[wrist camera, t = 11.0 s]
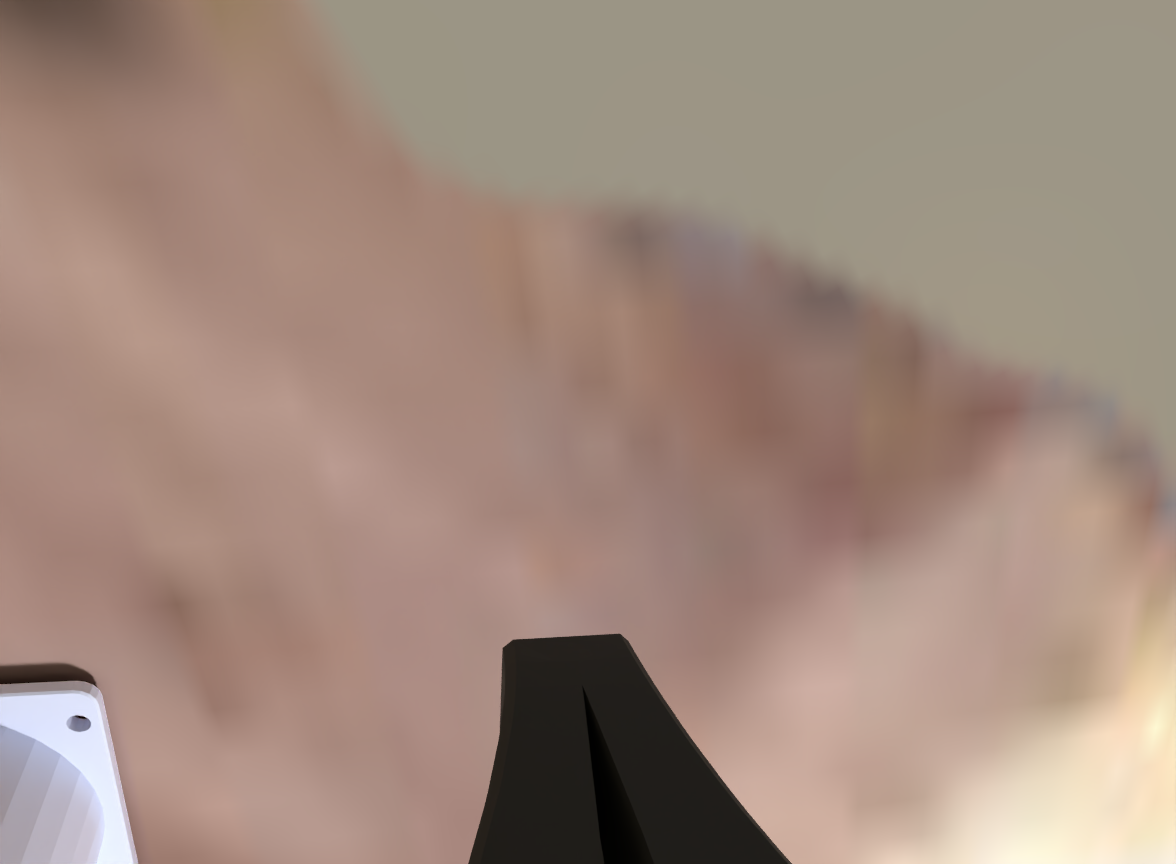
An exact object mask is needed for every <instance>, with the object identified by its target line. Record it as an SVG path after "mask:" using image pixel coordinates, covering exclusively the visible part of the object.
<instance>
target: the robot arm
mask: <svg viewBox="0 0 1176 864" xmlns="http://www.w3.org/2000/svg"><path fill="white" fill-rule="evenodd" d="M75 715H79V716H84V717H86V718H88V719H80V718H77V717H75ZM0 864H138V860H137V855H136V851H135V846H134V841H133V837H132V832H131V827H130V823H129V818H128V813H127V809H126V804H125V799H124V795H123V790H122V785H121V781H120V776H119V771H118V766H117V762H116V757H115V752H114V748H113V743H112V738H111V734H110V729H109V724H108V720H107V715H106V710H105V706H104V701H103V696H102V694H101V692H100V690H99V689H98V688H97V687H95V686H94V685H93V684H90V683H87V682H85V681H60V682H39V683H19V684H0ZM468 864H792V863H791V862H790V861H789V860H788V859H787V858H786V857H785V856H784V854H783V853H782V852H781V851H780V850H779V849H778V848H777V846H776V845H775V844H774V843H773V842H772V841H771V839H770V838H769V837H768V836H767V835H766V833H765V832H764V831H763V830H762V829H761V828H760V826H759V825H758V824H757V823H756V822H755V820H754V819H753V818H752V817H751V816H750V814H749V813H748V812H747V811H746V810H745V808H744V807H743V806H742V805H741V803H740V802H739V801H738V800H737V798H736V797H735V796H734V795H733V793H732V792H731V791H730V790H729V788H728V787H727V786H726V784H725V783H724V782H723V780H722V779H721V778H720V776H719V775H718V774H717V772H716V771H715V770H714V768H713V767H712V766H711V764H710V763H709V762H708V760H707V759H706V758H705V756H704V755H703V754H702V752H701V751H700V750H699V748H698V747H697V746H696V744H695V743H694V742H693V740H692V739H691V737H690V736H689V735H688V733H687V732H686V730H685V729H684V728H683V726H682V725H681V723H680V722H679V720H678V719H677V717H676V716H675V714H674V713H673V712H672V710H671V709H670V707H669V706H668V704H667V703H666V701H665V700H664V698H663V697H662V695H661V694H660V692H659V691H658V689H657V687H656V686H655V684H654V683H653V681H652V680H651V678H650V676H649V675H648V673H647V672H646V670H645V668H644V667H643V665H642V664H641V662H640V660H639V659H638V657H637V655H636V654H635V652H634V650H633V648H632V647H631V645H630V643H629V641H628V640H626V639H625V638H624V637H623V636H622V635H621V634H607V635H589V636H571V637H553V638H535V639H517V640H512V641H511V642H510V643H509V644H507V645H506V646H505V647H503V654H502V685H501V716H500V735H499V741H498V746H497V751H496V756H495V761H494V765H493V770H492V775H491V780H490V785H489V790H488V794H487V798H486V802H485V806H484V810H483V814H482V817H481V821H480V824H479V828H478V831H477V835H476V838H475V842H474V846H473V849H472V853H471V856H470V860H469V863H468Z"/></svg>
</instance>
